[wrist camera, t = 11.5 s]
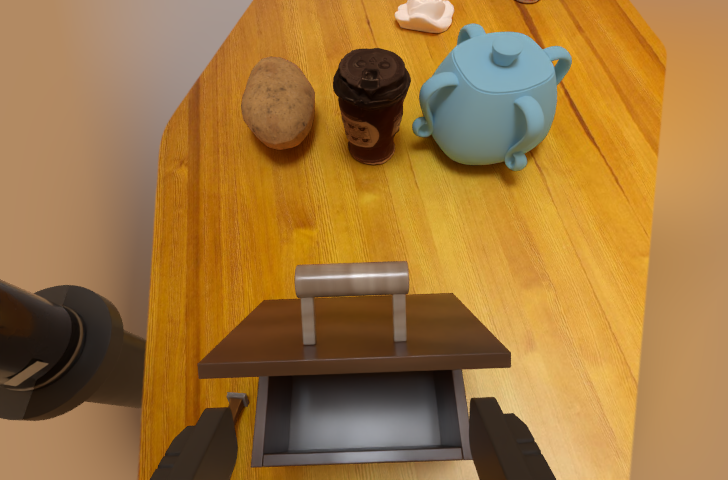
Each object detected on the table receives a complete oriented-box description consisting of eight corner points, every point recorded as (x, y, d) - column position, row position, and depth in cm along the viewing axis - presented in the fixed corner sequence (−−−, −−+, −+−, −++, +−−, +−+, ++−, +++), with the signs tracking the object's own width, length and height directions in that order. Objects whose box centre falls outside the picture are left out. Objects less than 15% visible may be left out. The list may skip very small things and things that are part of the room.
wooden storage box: (449, 454, 35) (475, 459, 26) (280, 460, 35) (250, 467, 26) (435, 329, 40) (451, 299, 32) (288, 334, 40) (265, 306, 32)
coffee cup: (370, 184, 49) (369, 106, 38) (327, 149, 52) (314, 67, 41) (415, 147, 52) (426, 64, 40) (372, 116, 55) (371, 30, 43)
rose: (412, 18, 58) (384, -15, 62) (410, 44, 62) (384, 12, 66) (468, 0, 60) (438, -30, 64) (463, 27, 64) (434, -3, 68)
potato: (251, 173, 50) (231, 130, 43) (251, 99, 57) (234, 50, 50) (323, 164, 51) (315, 120, 44) (316, 91, 57) (308, 43, 50)
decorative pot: (454, 78, 58) (475, -17, 46) (555, 120, 54) (607, 27, 42) (397, 145, 52) (404, 58, 40) (506, 199, 48) (550, 119, 36)
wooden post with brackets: (205, 505, 33) (191, 485, 30) (236, 414, 39) (226, 391, 36) (226, 507, 33) (213, 487, 30) (253, 415, 39) (245, 392, 36)
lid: (511, 368, 19) (511, 264, 18) (198, 379, 19) (189, 276, 18) (452, 302, 31) (451, 239, 31) (264, 309, 31) (260, 246, 31)
